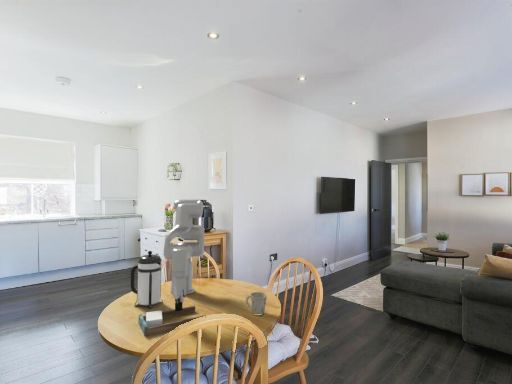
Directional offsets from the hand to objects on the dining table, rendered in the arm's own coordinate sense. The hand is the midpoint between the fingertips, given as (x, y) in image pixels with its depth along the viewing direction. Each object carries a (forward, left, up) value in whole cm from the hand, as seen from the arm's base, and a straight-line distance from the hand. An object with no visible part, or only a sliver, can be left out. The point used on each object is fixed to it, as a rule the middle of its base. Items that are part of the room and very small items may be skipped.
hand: (178, 310), depth 140 cm
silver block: (0, -12, -5) cm, 13 cm away
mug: (+11, +38, -5) cm, 40 cm away
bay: (+1, -3, -5) cm, 6 cm away
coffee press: (-29, -9, -5) cm, 31 cm away
